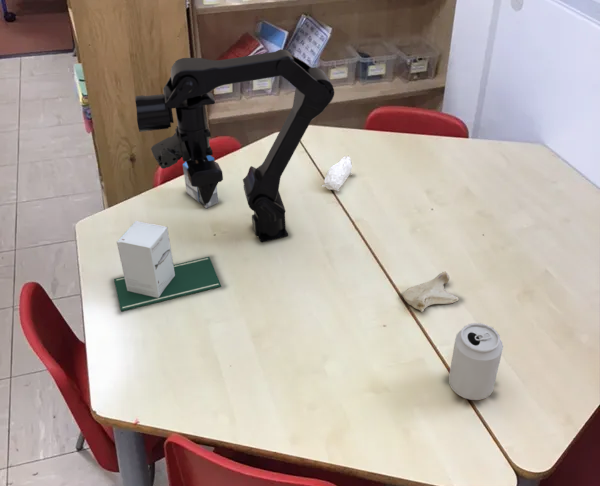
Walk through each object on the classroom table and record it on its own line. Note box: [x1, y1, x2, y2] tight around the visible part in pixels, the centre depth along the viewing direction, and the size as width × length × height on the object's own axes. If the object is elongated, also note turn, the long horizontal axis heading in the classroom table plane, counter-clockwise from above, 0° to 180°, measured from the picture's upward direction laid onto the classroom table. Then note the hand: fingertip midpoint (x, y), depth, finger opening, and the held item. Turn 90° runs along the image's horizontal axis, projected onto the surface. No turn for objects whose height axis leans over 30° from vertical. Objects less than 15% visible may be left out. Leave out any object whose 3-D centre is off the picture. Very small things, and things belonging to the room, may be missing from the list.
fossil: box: [402, 271, 459, 312], centre depth 131 cm, size 7×11×4 cm, turn 117°
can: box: [448, 322, 504, 401], centre depth 110 cm, size 8×8×12 cm
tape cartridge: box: [182, 155, 219, 209], centre depth 158 cm, size 9×4×12 cm, turn 41°
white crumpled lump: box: [321, 155, 353, 192], centre depth 164 cm, size 5×7×10 cm
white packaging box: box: [116, 220, 175, 298], centre depth 132 cm, size 7×7×13 cm
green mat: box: [113, 256, 222, 313], centre depth 136 cm, size 20×10×1 cm, turn 110°
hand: (200, 191), depth 140 cm, fingers open, 9 cm apart
